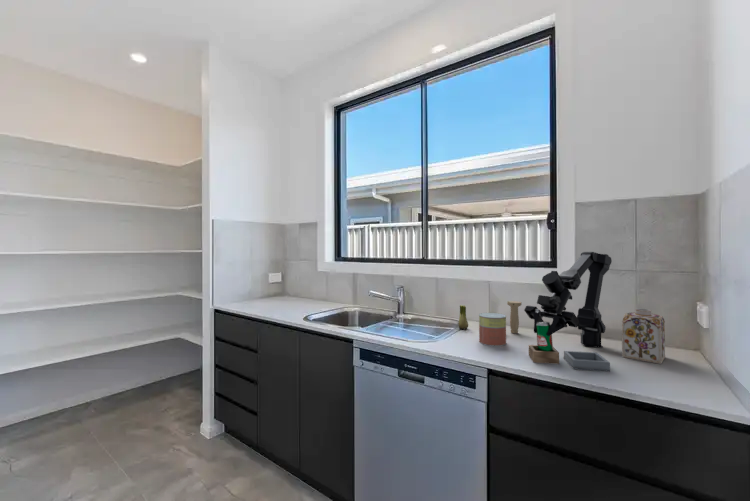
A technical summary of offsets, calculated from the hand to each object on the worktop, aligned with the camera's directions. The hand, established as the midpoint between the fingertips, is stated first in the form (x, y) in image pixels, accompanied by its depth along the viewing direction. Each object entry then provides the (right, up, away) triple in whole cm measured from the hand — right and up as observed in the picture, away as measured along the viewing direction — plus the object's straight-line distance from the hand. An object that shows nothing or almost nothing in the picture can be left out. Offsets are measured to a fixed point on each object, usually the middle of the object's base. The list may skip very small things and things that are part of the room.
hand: (541, 333), depth 125 cm
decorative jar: (+40, -10, +3) cm, 41 cm away
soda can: (+2, -8, 0) cm, 8 cm away
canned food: (-10, -10, +24) cm, 28 cm away
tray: (+13, -10, -5) cm, 17 cm away
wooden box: (+1, -10, +1) cm, 10 cm away
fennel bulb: (-16, -10, +50) cm, 53 cm away
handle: (+7, -10, +41) cm, 42 cm away
